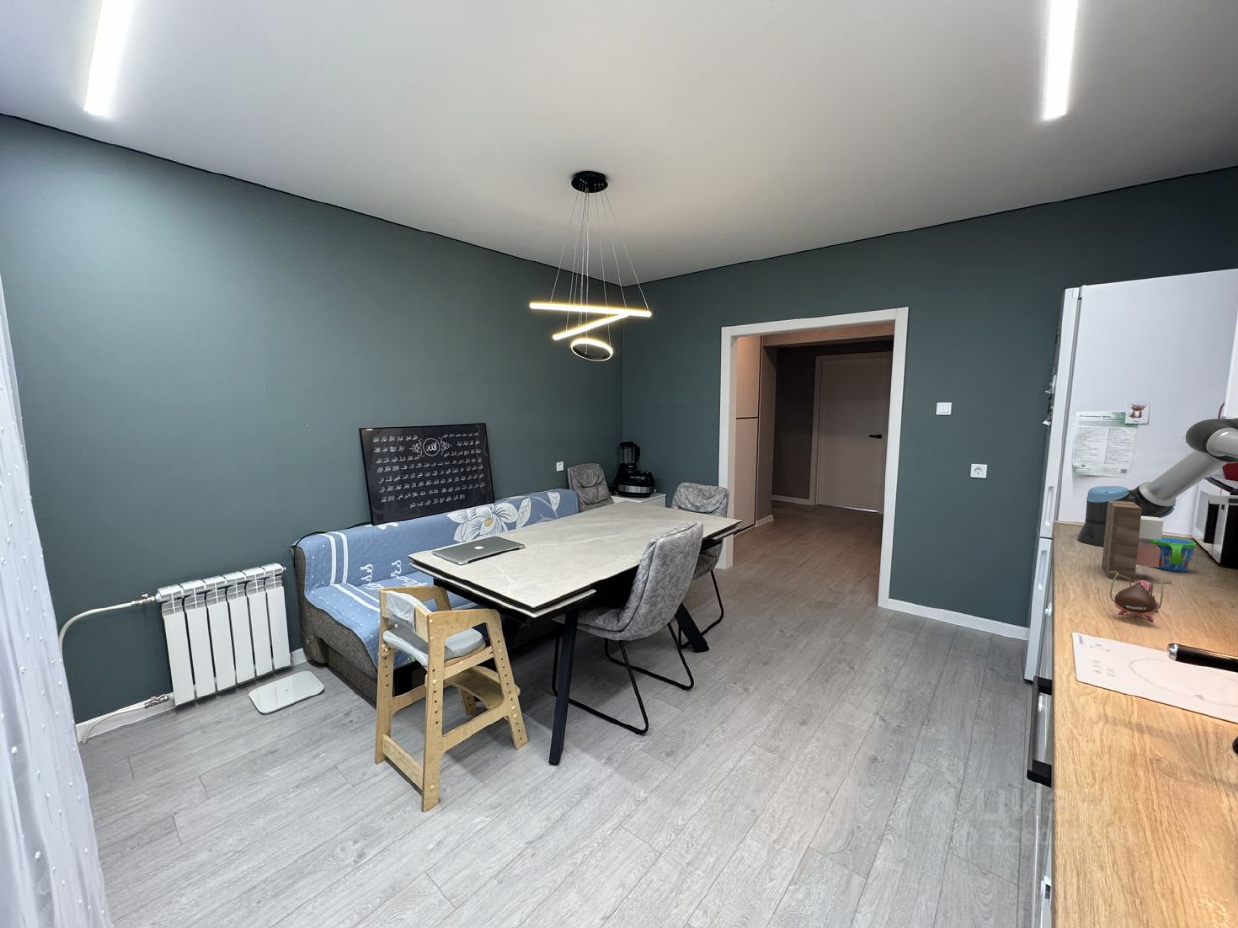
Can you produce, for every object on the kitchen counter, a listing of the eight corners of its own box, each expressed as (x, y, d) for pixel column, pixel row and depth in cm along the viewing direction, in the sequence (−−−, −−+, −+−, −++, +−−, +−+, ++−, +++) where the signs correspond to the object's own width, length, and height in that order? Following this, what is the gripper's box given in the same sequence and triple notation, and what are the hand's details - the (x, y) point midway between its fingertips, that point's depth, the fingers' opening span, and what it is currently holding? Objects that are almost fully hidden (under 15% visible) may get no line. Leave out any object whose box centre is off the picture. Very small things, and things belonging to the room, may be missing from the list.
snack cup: (1146, 560, 177) (1149, 533, 176) (1191, 567, 170) (1194, 538, 168) (1147, 570, 166) (1150, 541, 165) (1195, 578, 159) (1198, 547, 158)
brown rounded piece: (1176, 597, 134) (1175, 561, 126) (1167, 644, 128) (1165, 610, 120) (1118, 585, 143) (1114, 551, 135) (1106, 629, 137) (1101, 596, 129)
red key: (1131, 559, 163) (1133, 541, 163) (1153, 561, 160) (1155, 544, 160) (1135, 564, 158) (1137, 546, 157) (1158, 567, 155) (1160, 548, 154)
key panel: (1101, 567, 171) (1107, 500, 168) (1126, 570, 167) (1132, 501, 164) (1108, 578, 160) (1114, 506, 157) (1134, 582, 156) (1141, 508, 153)
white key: (1134, 533, 162) (1135, 515, 162) (1156, 535, 159) (1158, 517, 159) (1138, 537, 157) (1140, 519, 156) (1161, 539, 154) (1163, 521, 153)
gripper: (1352, 524, 130) (1216, 514, 144) (1327, 516, 140) (1202, 507, 154) (1356, 496, 129) (1218, 489, 144) (1330, 490, 139) (1204, 484, 154)
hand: (1210, 498), depth 149 cm, fingers closed
